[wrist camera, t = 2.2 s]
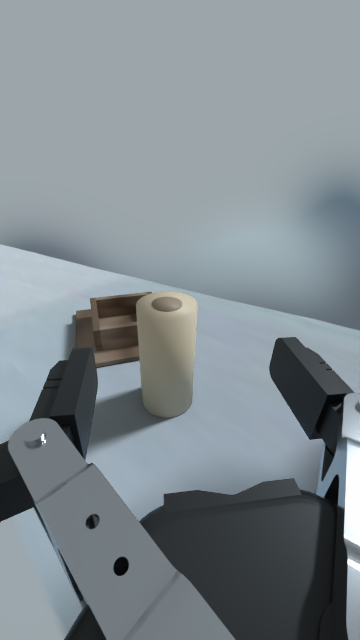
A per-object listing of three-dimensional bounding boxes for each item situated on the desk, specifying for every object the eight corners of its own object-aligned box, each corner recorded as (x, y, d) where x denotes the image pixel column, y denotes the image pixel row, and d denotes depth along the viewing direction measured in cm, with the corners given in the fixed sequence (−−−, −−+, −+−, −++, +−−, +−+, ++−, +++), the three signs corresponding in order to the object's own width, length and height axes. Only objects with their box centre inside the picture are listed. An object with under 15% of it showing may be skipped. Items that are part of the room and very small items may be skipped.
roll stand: (162, 303, 48) (162, 284, 46) (189, 351, 36) (191, 327, 34) (76, 314, 44) (73, 293, 42) (76, 370, 32) (71, 345, 30)
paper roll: (183, 376, 32) (186, 287, 26) (199, 410, 28) (207, 313, 22) (138, 385, 30) (131, 294, 25) (148, 423, 26) (142, 322, 21)
